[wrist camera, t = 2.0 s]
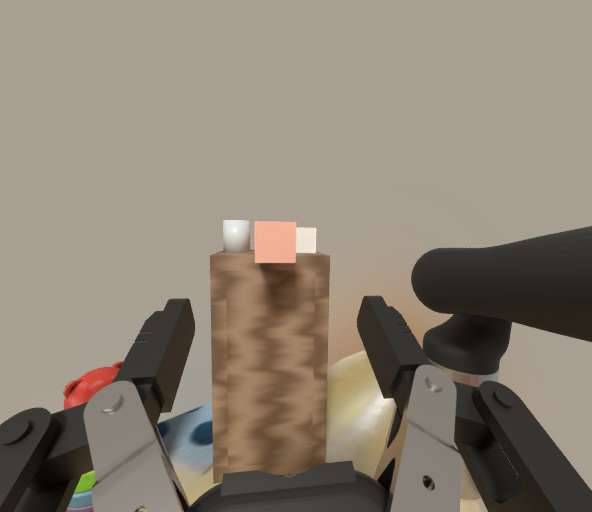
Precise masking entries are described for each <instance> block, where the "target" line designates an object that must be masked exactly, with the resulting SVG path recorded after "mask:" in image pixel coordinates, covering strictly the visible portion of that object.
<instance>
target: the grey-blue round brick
mask: <svg viewBox="0 0 592 512" xmlns="http://www.w3.org/2000/svg"><path fill="white" fill-rule="evenodd" d="M223 240H224V241H223V243H224V244H223V245H224V252H230V253H243V252H250V221H244V220H224V221H223Z"/></svg>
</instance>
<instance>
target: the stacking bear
mask: <svg viewBox="0 0 592 512" xmlns="http://www.w3.org/2000/svg"><path fill="white" fill-rule="evenodd" d="M122 364H123V362H117V363H115V364H114V365H113V366H112V367H104V368H98V369H95V370H92V371H90V372H88V373H86V374H84V375H83V376H81V377H80V378H79V379H78V380H74V381H72V382H70V383H69V384H68V385H67V386H66V387H65V389H64V396H65V400H64V410H66V409H69V408H71V407H74V406H77V405H80V404H83V403H86V402H88V401H89V400H90V399H91V398H92V397H93V396H94V395H95V394H96V393H97V392H98V391H99V390H101V389H102V388H103V387H105V386H107V385H109V384H111V383H112V382H113V380H114V379H115V377H116V375H117V373H118V371H119V369H120V368H121V366H122ZM94 484H95V473H94V470H93V471H90V472H88V473H86V474H83V475H82V476H81V478H80V481H79V483H78V485H77V487H76V490H75V492H74V494H73V497H72V499H71V501H70V503H69V506H68V508H67V510H66V512H94V510H93V504H92V497H91V489H92V486H93V485H94Z"/></svg>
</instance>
